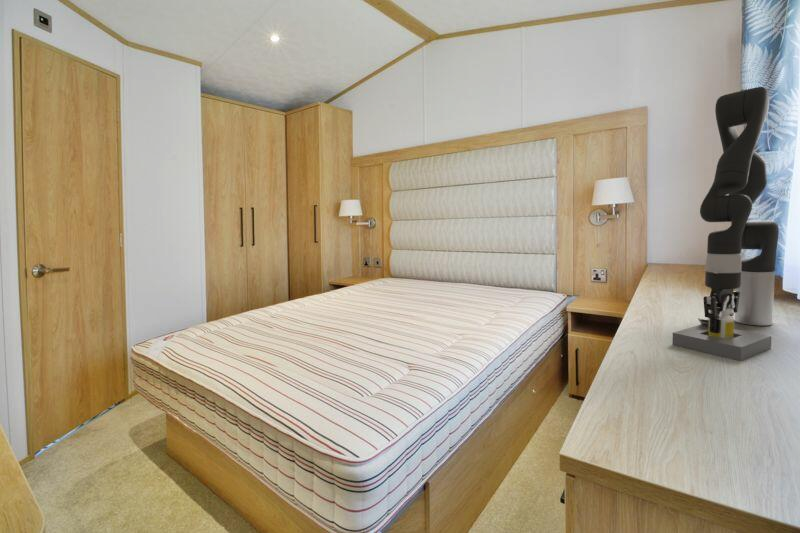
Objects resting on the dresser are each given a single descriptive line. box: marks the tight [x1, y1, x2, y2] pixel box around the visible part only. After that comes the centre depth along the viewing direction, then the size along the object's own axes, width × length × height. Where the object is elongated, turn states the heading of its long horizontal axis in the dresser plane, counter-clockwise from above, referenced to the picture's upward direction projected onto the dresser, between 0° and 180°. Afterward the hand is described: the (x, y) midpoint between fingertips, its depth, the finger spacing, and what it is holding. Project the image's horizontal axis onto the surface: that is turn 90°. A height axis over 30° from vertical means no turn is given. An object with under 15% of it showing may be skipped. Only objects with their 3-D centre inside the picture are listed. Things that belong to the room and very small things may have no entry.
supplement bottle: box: [708, 307, 735, 340], centre depth 108 cm, size 5×5×10 cm
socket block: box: [672, 323, 772, 362], centre depth 109 cm, size 16×16×4 cm
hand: (720, 330), depth 108 cm, fingers closed on supplement bottle, 5 cm apart
